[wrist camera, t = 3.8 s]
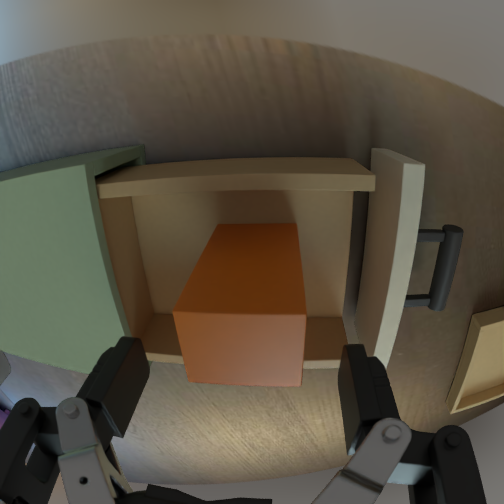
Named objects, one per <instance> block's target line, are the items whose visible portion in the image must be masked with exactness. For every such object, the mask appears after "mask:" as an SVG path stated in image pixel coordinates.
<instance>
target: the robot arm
mask: <svg viewBox="0 0 504 504" xmlns="http://www.w3.org/2000/svg"><path fill="white" fill-rule="evenodd" d="M149 373H150V366H149V362H148V359H147V356H146V353H145V350H144V347H143V344H142V341H141V339H140V338H136V337H127V336H122V337H121V338H120V339H119V341H118V342H117V344H116V346H115V347H110V348H109V349H107V350H106V351H105V352H104V353H102V355H101V356H100V358H99V359H98V361H97V364H96V365H95V366H94V367H93V369H92V372H90V374H89V376H88V377H87V379H86V381H85V382H84V384H83V386H82V387H81V389H80V391H79V392H78V394H77V396H76V397H71V398H67V399H65V400H63V401H62V402H61V403H60V404H59V405H58V406H57V407H41V406H40V405H39V403H38V402H37V401H36V400H35V399H33V398H24V399H21V400H20V401H18V402H17V403H16V404H15V405H14V407H13V409H12V410H11V412H10V414H9V415H8V417H7V419H6V420H5V422H4V424H3V426H2V427H1V429H0V504H48V501H49V499H50V496H51V493H52V490H53V488H54V485H55V483H56V480H57V477H58V475H59V473H60V472H61V476H62V480H63V484H64V488H65V492H66V495H67V499H68V503H69V504H272V499H256V498H233V499H225V500H215V501H205V500H201V499H199V498H196V497H194V496H191V495H189V494H186V493H183V492H181V491H179V490H176V489H171V488H165V487H161V486H156V485H151V484H148V486H147V489H146V490H144V491H136V492H133V490H132V489H131V487H130V485H129V484H128V482H127V480H126V478H125V476H124V474H123V471H122V469H121V466H120V464H119V461H118V458H117V456H116V453H115V450H114V448H113V445H112V443H111V440H112V437H113V436H116V437H121V438H123V437H124V434H125V432H126V430H127V427H128V425H129V422H130V420H131V418H132V415H133V413H134V411H135V408H136V406H137V404H138V401H139V399H140V397H141V394H142V392H143V390H144V387H145V385H146V383H147V380H148V378H149ZM338 389H339V396H340V403H341V410H342V417H343V425H344V433H345V441H346V449H347V455H353V456H352V457H351V459H350V460H349V462H348V463H347V464H346V465H345V467H344V468H343V469H342V470H339V472H337V474H336V475H335V476H334V477H333V478H332V480H331V481H330V482H329V483H328V485H327V486H326V487H325V488H324V489H323V491H322V492H321V493H320V494H319V495H318V496H317V497H316V498H315V500H314V501H313V502H312V503H311V504H374V502H375V501H376V499H377V498H378V496H379V495H380V493H381V492H382V490H383V487H384V486H385V484H386V482H390V483H399V484H406V485H408V490H409V499H410V504H487V503H486V499H485V494H484V490H483V486H482V481H481V478H480V473H479V470H478V466H477V462H476V458H475V455H474V451H473V448H472V445H471V441H470V438H469V436H468V434H467V432H466V431H465V430H464V429H462V428H461V427H458V426H455V425H448V426H444V427H442V428H441V429H439V430H438V431H437V433H427V432H419V431H415V430H412V429H410V428H409V426H408V425H407V424H406V423H405V422H404V421H402V420H401V419H400V416H399V413H398V409H397V406H396V402H395V399H394V396H393V392H392V389H391V386H390V382H389V379H388V378H387V373H386V369H385V366H384V364H383V363H382V362H381V361H380V360H379V359H378V358H377V357H376V356H371V357H367V354H366V350H365V347H364V345H363V344H347V345H344V346H343V350H342V355H341V361H340V366H339V372H338ZM33 443H34V444H35V445H36V446H35V448H34V450H33V452H32V454H31V456H30V458H29V460H28V463H27V465H25V459H26V457H27V455H28V452H29V450H30V448H31V446H32V444H33Z"/></svg>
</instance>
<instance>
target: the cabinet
mask: <svg viewBox="0 0 504 504" xmlns="http://www.w3.org/2000/svg"><path fill="white" fill-rule="evenodd" d="M139 165H146V160H145V150H144V145H135V146H128V147H121V148H114V149H108V150H101V151H95V152H90V153H84V154H79V155H73V156H68V157H63V158H58V159H54V160H49V161H45V162H40V163H36V164H32V165H27V166H23V167H19V168H15V169H12V170H8V171H4V172H0V350H1V351H4V352H7V353H10V354H13V355H16V356H20V357H23V358H26V359H30V360H33V361H37V362H40V363H44V364H48V365H52V366H56V367H60V368H64V369H68V370H72V371H77V372H81V373H86V374H90V372H92V369H93V367H94V366H95V365H96V364H97V361H98V359H99V358H100V356H101V355H102V353H104V352H105V351H106V350H107V349H109V348H110V347H115V346H116V344H117V342H118V341H119V339H120V338H121V337H122V336H127V337H132V335H131V332H130V329H129V326H128V322H127V319H126V316H125V312H124V309H123V305H122V302H121V298H120V295H119V291H118V287H117V284H116V280H115V276H114V272H113V268H112V264H111V260H110V255H109V251H108V247H107V242H106V238H105V233H104V228H103V223H102V218H101V213H100V207H99V202H98V196H97V190H96V184H95V179H98V178H100V177H102V176H104V175H106V174H109V173H111V172H113V171H115V170H118V169H120V168H122V167H130V166H139ZM148 362H149V366H151V363H152V361H149V360H148Z"/></svg>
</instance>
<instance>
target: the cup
mask: <svg viewBox="0 0 504 504" xmlns="http://www.w3.org/2000/svg"><path fill="white" fill-rule="evenodd" d="M10 372H11V368H10V365H9V362H8V360H7V358H6V356H5V355H4V353H3V352H2V351H1V350H0V385H1V384H2V383H3V381H4V380H5V379H6V378H7V376H8V375H9V374H10Z"/></svg>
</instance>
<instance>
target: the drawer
mask: <svg viewBox="0 0 504 504" xmlns="http://www.w3.org/2000/svg"><path fill="white" fill-rule="evenodd" d="M424 176H425V164H423V163H420V162H418V161H416V160H413V159H411V158H409V157H406V156H404V155H402V154H399V153H397V152H394V151H392V150H389V149H382V148H371V171H369V170H368V169H366V168H365V167H363V166H362V165H361V164H359V163H358V162H356V161H355V160H353V159H352V158H323V157H267V158H234V159H213V160H196V161H182V162H170V163H159V164H148V165H139V166H130V167H122V168H120V169H118V170H115V171H113V172H111V173H109V174H106V175H104V176H102V177H100V178H98V179H95V184H96V190H97V196H98V202H99V207H100V213H101V218H102V223H103V228H104V233H105V238H106V242H107V247H108V251H109V255H110V260H111V264H112V268H113V272H114V276H115V280H116V284H117V287H118V291H119V295H120V298H121V302H122V305H123V309H124V312H125V316H126V319H127V322H128V326H129V329H130V332H131V335H132V337H136V338H140V339H141V341H142V344H143V347H144V350H145V353H146V356H147V359H148V360H149V361H158V362H167V363H177V364H184V361H183V357H182V352H181V348H180V344H179V340H178V335H177V331H176V326H175V322H174V317H173V312H172V311H173V308H174V306H175V305H176V303H177V301H178V299H179V297H180V295H181V293H182V291H183V289H184V287H185V285H186V283H187V281H188V279H189V277H190V275H191V273H192V271H193V269H194V267H195V266H196V264H197V262H198V260H199V258H200V256H201V254H202V252H203V250H204V248H205V247H206V245H207V243H208V241H209V239H210V237H211V235H212V233H213V232H214V230H215V228H216V226H217V224H262V223H296V224H297V228H298V236H299V244H300V253H301V261H302V270H303V279H304V289H305V298H306V308H307V323H306V337H305V350H304V362H303V369H316V368H339V366H340V361H341V355H342V350H343V346H344V345H347V344H348V342H347V337H346V333H345V329H344V324H343V320H342V313H343V305H344V297H345V289H346V280H347V271H348V261H349V250H350V239H351V226H352V211H353V193H354V191H369V205H368V218H367V229H366V239H365V249H364V258H363V266H362V274H361V282H360V289H359V296H358V303H357V309H356V315H355V321H354V325H355V328H356V332H357V335H358V339H359V343H360V344H363V345H364V347H365V350H366V354H367V357H371V356H376V357H377V358H378V359H379V360H380V361H381V362H382V363H383V364H384V366H385V369H386V368H387V365H388V362H389V358H390V355H391V352H392V348H393V345H394V341H395V338H396V334H397V330H398V326H399V323H400V319H401V315H402V311H403V307H417V306H428V308H430V309H431V310H434V311H442V310H444V308H445V306H446V302H447V299H448V295H449V292H450V288H451V285H452V281H453V277H454V273H455V269H456V265H457V261H458V256H459V252H460V247H461V242H462V237H463V232H464V231H463V229H462V228H460V227H458V226H455V225H449V224H448V225H444V226H443V228H442V230H436V229H418V228H419V221H420V213H421V205H422V196H423V187H424ZM416 242H440V245H439V250H438V255H437V260H436V265H435V269H434V274H433V278H432V282H431V287H430V291H429V295H428V294H419V295H406V293H407V289H408V284H409V279H410V274H411V269H412V264H413V259H414V253H415V247H416Z"/></svg>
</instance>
